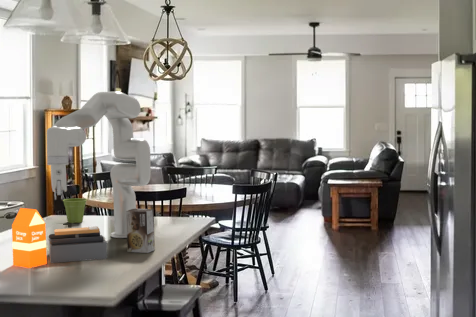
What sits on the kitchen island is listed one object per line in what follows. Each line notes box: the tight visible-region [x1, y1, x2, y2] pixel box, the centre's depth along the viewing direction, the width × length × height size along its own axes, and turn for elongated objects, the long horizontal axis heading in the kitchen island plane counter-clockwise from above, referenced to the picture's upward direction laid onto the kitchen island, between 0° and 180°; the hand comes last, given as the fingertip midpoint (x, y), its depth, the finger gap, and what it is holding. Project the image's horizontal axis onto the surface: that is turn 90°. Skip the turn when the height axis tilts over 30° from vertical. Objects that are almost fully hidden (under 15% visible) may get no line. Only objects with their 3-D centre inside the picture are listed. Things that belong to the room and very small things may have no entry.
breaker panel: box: [48, 234, 108, 264], centre depth 246 cm, size 20×16×9 cm
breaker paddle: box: [53, 225, 101, 235], centre depth 245 cm, size 16×6×1 cm, turn 108°
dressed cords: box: [48, 231, 105, 245], centre depth 245 cm, size 19×14×2 cm
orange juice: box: [11, 207, 48, 269], centre depth 233 cm, size 8×9×20 cm
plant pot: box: [63, 198, 88, 224], centre depth 326 cm, size 12×12×11 cm
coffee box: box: [126, 208, 156, 254], centre depth 254 cm, size 9×6×16 cm
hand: (58, 210), depth 243 cm, fingers closed
